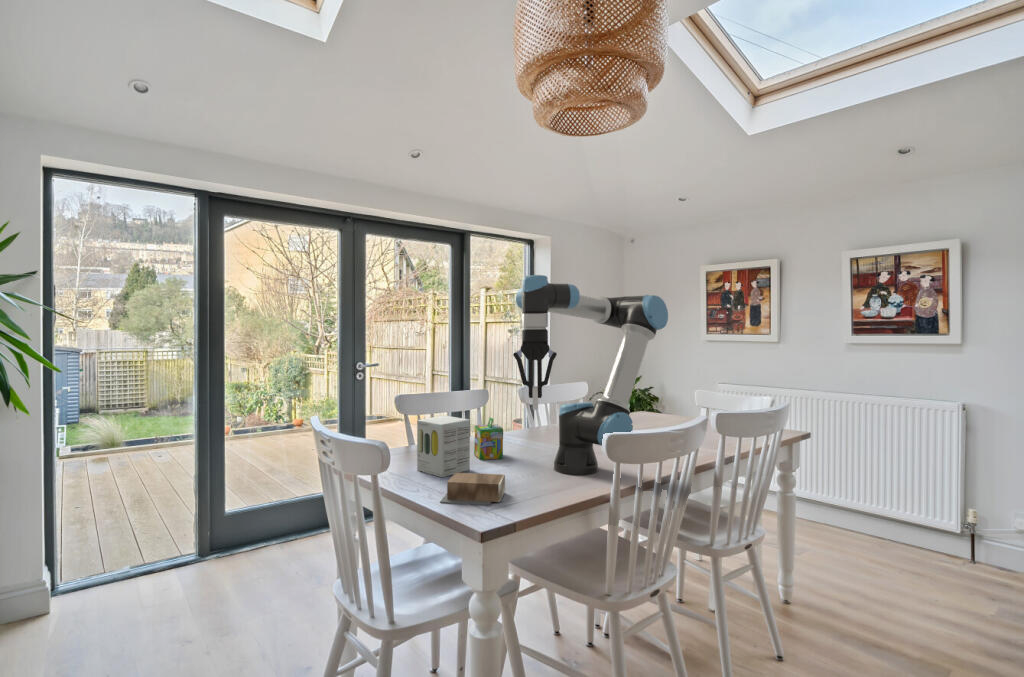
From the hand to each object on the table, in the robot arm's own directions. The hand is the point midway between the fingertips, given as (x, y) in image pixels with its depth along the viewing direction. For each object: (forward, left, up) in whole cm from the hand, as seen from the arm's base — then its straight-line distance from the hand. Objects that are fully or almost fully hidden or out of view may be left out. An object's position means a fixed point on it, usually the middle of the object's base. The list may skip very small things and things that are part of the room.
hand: (535, 409), depth 159 cm
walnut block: (+9, +5, -22) cm, 25 cm away
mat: (+18, +4, -25) cm, 32 cm away
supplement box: (+33, -22, -26) cm, 48 cm away
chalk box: (+21, -43, -26) cm, 55 cm away
